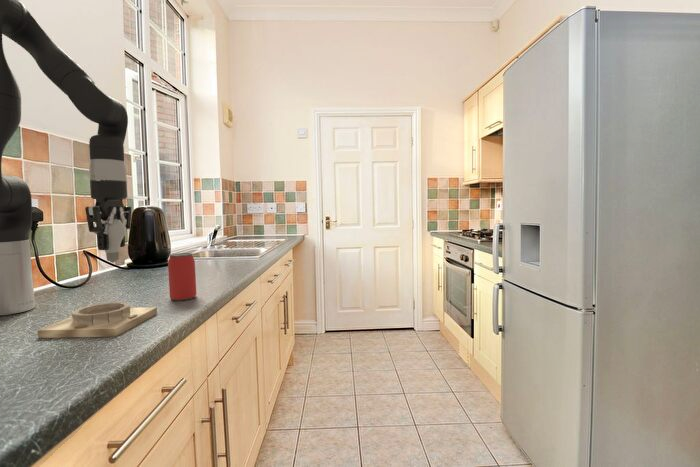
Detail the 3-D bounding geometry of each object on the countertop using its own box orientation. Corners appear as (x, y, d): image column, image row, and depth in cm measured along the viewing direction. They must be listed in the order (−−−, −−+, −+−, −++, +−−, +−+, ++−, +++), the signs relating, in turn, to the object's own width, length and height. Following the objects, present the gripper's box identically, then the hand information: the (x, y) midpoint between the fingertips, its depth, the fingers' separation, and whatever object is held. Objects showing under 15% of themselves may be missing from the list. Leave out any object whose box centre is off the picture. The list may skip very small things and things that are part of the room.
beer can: (191, 294, 105) (188, 252, 104) (200, 297, 100) (198, 253, 100) (166, 298, 100) (163, 254, 100) (175, 302, 96) (172, 256, 95)
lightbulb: (132, 260, 94) (130, 217, 94) (115, 264, 88) (113, 218, 88) (110, 260, 95) (108, 217, 94) (91, 264, 89) (89, 218, 88)
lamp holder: (38, 337, 71) (36, 320, 71) (92, 314, 86) (91, 300, 86) (115, 336, 71) (114, 318, 71) (157, 313, 86) (156, 298, 86)
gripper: (112, 181, 97) (115, 245, 99) (70, 177, 83) (75, 252, 84) (140, 181, 97) (143, 245, 99) (104, 177, 83) (108, 252, 84)
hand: (112, 248), depth 91 cm, fingers closed on lightbulb, 5 cm apart
